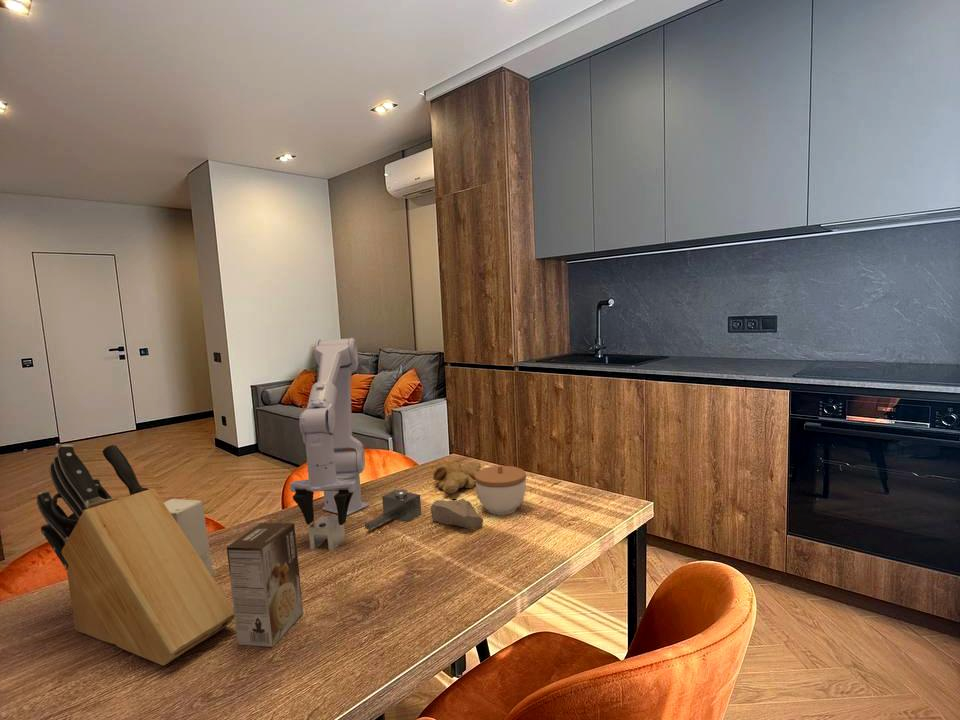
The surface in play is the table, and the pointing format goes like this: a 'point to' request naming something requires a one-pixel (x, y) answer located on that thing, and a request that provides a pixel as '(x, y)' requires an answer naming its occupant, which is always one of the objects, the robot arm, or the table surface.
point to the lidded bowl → (501, 488)
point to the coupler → (397, 507)
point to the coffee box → (265, 583)
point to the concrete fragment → (456, 513)
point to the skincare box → (192, 526)
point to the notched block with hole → (326, 532)
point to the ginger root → (456, 476)
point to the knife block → (129, 563)
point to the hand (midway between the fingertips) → (326, 522)
